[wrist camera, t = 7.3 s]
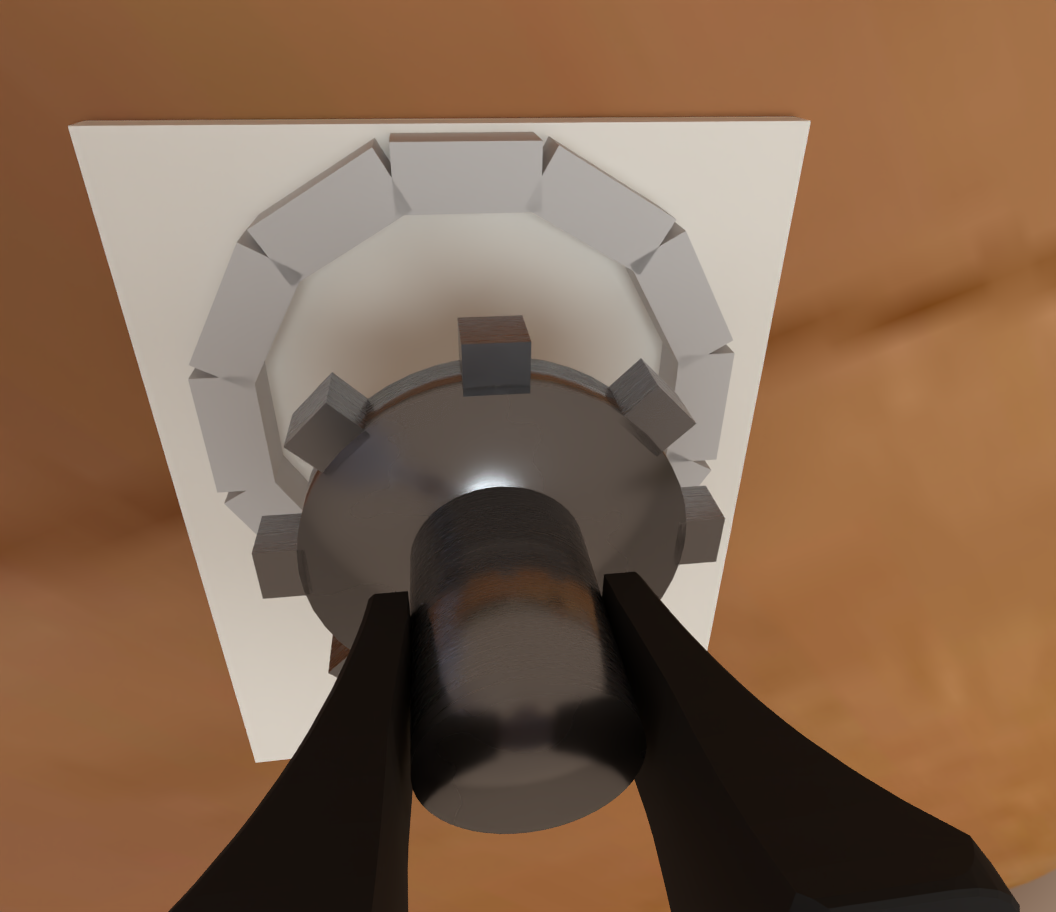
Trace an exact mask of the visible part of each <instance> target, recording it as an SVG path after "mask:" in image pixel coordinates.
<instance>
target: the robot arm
mask: <svg viewBox="0 0 1056 912" xmlns="http://www.w3.org/2000/svg"><path fill="white" fill-rule="evenodd" d="M602 599H603V602H604V605H605V608H606V611H607V615H608V618H609V621H610V624H611V627H612V630H613V634H614V637H615V640H616V643H617V646H618V649H619V652H620V656H621V659H622V662H623V665H624V668H625V671H626V675H627V678H628V681H629V684H630V687H631V690H632V694H633V697H634V700H635V703H636V706H637V709H638V713H639V716H640V719H641V722H642V725H643V728H644V732H645V735H646V742H647V747H646V755H645V759H644V762H643V764H642V767H641V769H640V771H639V773H638V774H637V776H636V777H635V782H636V785H637V788H638V791H639V794H640V797H641V800H642V802H643V805H644V808H645V811H646V814H647V818H648V821H649V824H650V828H651V831H652V834H653V838H654V842H655V846H656V850H657V854H658V858H659V862H660V867H661V871H662V875H663V879H664V883H665V887H666V891H667V896H668V900H669V905H670V909H671V912H1020V906H1019V904H1018V902H1017V901H1016V900H1015V898H1014V897H1013V895H1012V894H1011V892H1010V891H1009V889H1008V888H1007V886H1006V885H1005V883H1004V882H1003V880H1002V878H1001V877H1000V875H999V874H998V872H997V871H996V869H995V868H994V867H993V865H992V864H991V862H990V861H989V860H988V858H987V857H986V856H985V855H984V853H983V852H982V851H981V849H980V848H979V847H978V846H977V844H976V843H975V842H974V840H973V839H972V838H971V837H970V835H968V834H966V833H964V832H962V831H960V830H958V829H956V828H954V827H953V826H951V825H949V824H947V823H945V822H943V821H941V820H939V819H938V818H936V817H934V816H932V815H930V814H928V813H926V812H924V811H922V810H921V809H919V808H917V807H915V806H913V805H911V804H909V803H907V802H906V801H904V800H902V799H900V798H899V797H897V796H895V795H894V794H892V793H890V792H889V791H887V790H885V789H884V788H882V787H880V786H879V785H877V784H875V783H874V782H872V781H870V780H869V779H867V778H865V777H864V776H862V775H861V774H859V773H857V772H856V771H854V770H853V769H851V768H850V767H848V766H847V765H845V764H844V763H842V762H841V761H839V760H838V759H836V758H835V757H834V756H832V755H831V754H829V753H828V752H826V751H825V750H823V749H822V748H820V747H819V746H818V745H816V744H815V743H813V742H812V741H810V740H809V739H807V738H806V737H805V736H803V735H802V734H801V733H799V732H798V731H797V730H795V729H794V728H793V727H791V726H790V725H789V724H788V723H786V722H785V721H784V720H783V719H781V718H780V717H779V716H778V715H776V714H775V713H774V712H773V711H771V710H770V709H769V708H768V707H767V706H765V705H764V704H763V703H762V702H761V701H760V700H758V699H757V698H756V697H755V696H754V695H753V694H752V693H750V692H749V691H748V690H747V689H746V688H745V687H744V686H743V685H742V684H741V683H739V682H738V681H737V680H736V679H735V678H734V677H733V676H732V675H731V674H730V673H729V672H728V671H727V670H726V669H725V668H723V667H722V666H721V665H720V664H719V663H718V662H717V661H716V660H715V659H714V658H713V657H712V656H711V655H710V654H709V653H708V651H707V650H706V649H705V648H704V647H703V646H702V645H701V644H700V643H699V642H698V641H697V640H696V639H695V638H694V637H693V636H692V635H691V634H690V633H689V632H688V630H687V629H686V628H685V627H684V626H683V625H682V624H681V623H680V622H679V621H678V619H677V618H676V617H675V616H674V615H673V614H672V613H671V612H670V610H669V609H668V608H667V607H666V606H665V605H664V603H663V602H662V601H661V600H660V599H659V598H658V596H657V595H656V594H655V593H654V592H653V590H652V589H651V588H650V587H649V586H648V584H647V583H646V582H645V581H644V580H643V578H642V577H641V576H640V575H639V574H638V573H637V572H623V573H612V574H604V578H603V590H602ZM410 663H411V616H410V606H409V596H408V591H403V592H391V593H380V594H374V595H372V596H371V597H370V598H369V599H368V603H367V606H366V610H365V613H364V616H363V619H362V622H361V625H360V627H359V630H358V633H357V635H356V638H355V640H354V642H353V645H352V647H351V649H350V652H349V654H348V656H347V658H346V660H345V663H344V665H343V667H342V669H341V671H340V673H339V675H338V677H337V679H336V681H335V684H334V686H333V688H332V689H331V691H330V693H329V695H328V697H327V699H326V701H325V702H324V704H323V706H322V708H321V710H320V711H319V713H318V715H317V717H316V719H315V720H314V722H313V724H312V726H311V728H310V729H309V731H308V733H307V734H306V736H305V738H304V739H303V741H302V743H301V744H300V746H299V747H298V749H297V751H296V752H295V754H294V755H293V757H292V758H291V760H290V761H289V763H288V764H287V766H286V767H285V769H284V770H283V772H282V773H281V775H280V776H279V778H278V779H277V781H276V782H275V784H274V785H273V786H272V788H271V789H270V790H269V792H268V793H267V795H266V796H265V797H264V799H263V800H262V801H261V803H260V804H259V806H258V807H257V808H256V810H255V811H254V812H253V814H252V815H251V816H250V818H249V819H248V820H247V822H246V823H245V824H244V825H243V827H242V828H241V829H240V830H239V832H238V833H237V834H236V836H235V837H234V838H233V839H232V840H231V841H230V843H229V844H228V845H227V846H226V847H225V849H224V850H223V851H222V852H221V853H220V854H219V856H218V857H217V858H216V859H215V860H214V862H213V863H212V864H211V865H210V866H209V867H208V869H207V870H206V871H205V872H204V873H203V874H202V876H201V877H200V878H199V879H198V880H197V882H196V883H195V884H194V885H193V886H192V887H191V888H190V889H189V890H188V892H187V893H186V894H185V895H184V896H183V897H182V898H181V899H180V900H179V901H178V902H177V903H176V904H175V905H174V906H173V907H172V908H171V909H170V911H169V912H408V843H409V830H410V817H411V804H412V791H413V788H412V784H411V775H410Z"/></svg>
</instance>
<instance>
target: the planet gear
mask: <svg viewBox="0 0 1056 912" xmlns="http://www.w3.org/2000/svg"><path fill="white" fill-rule="evenodd" d="M457 321H458V347H459V360H456V361H452V362H448V363H443V364H439V365H435V366H432V367H429V368H427V369H424V370H421V371H418V372H415V373H413V374H410V375H408V376H406V377H404V378H402V379H400V380H398V381H396V382H394V383H392V384H390V385H388V386H386V387H385V388H383V389H382V390H380V391H379V392H377V393H376V394H374V395H373V396H371V397H370V398H366V397H365V396H364V395H362V394H361V393H360V392H358V391H357V390H356V389H354V388H353V387H352V386H350V385H349V384H348V383H346V382H345V381H344V380H342V379H341V378H339V377H338V376H337V375H335V374H334V373H333V372H332V373H331V374H330V375H329V376H328V377H327V378H326V379H325V380H324V381H323V382H322V383H321V384H320V385H319V386H318V387H317V388H316V390H315V391H314V392H313V393H312V394H311V395H310V396H309V397H308V398H307V399H306V400H305V401H304V402H303V403H302V404H301V405H300V407H299V408H298V409H297V410H296V411H295V412H294V413H293V414H292V418H291V421H290V425H289V429H288V432H287V436H286V439H285V443H284V448H285V449H287V450H288V451H290V452H292V453H293V454H295V455H296V456H298V457H299V458H301V459H302V460H304V461H305V462H307V463H308V464H310V465H311V466H313V470H312V472H311V475H310V478H309V482H308V486H307V491H306V495H305V500H304V505H303V509H302V513H297V514H283V515H268V516H262V518H261V521H260V525H259V529H258V532H257V536H256V539H255V543H254V547H253V550H252V557H253V561H254V565H255V569H256V573H257V577H258V581H259V585H260V589H261V593H262V597H263V599H268V598H280V597H292V596H304V595H306V596H307V598H308V600H309V603H310V605H311V607H312V609H313V611H314V612H315V613H316V615H317V616H318V618H319V619H320V620H321V622H322V623H323V625H324V626H325V627H326V628H327V629H328V630H329V631H330V632H331V633H332V634H333V636H332V645H331V653H330V661H329V670H328V673H329V674H331V675H333V676H335V677H338V675H339V673H340V671H341V669H342V667H343V665H344V663H345V660H346V658H347V656H348V654H349V652H350V649H351V647H352V645H353V642H354V640H355V638H356V635H357V633H358V630H359V627H360V625H361V622H362V619H363V616H364V613H365V610H366V606H367V603H368V599H369V598H370V597H371V596H372V595H374V594H380V593H391V592H403V591H408V596H409V606H410V616H411V663H410V775H411V784H412V788H413V791H414V793H415V795H416V797H417V799H418V800H419V801H420V803H421V804H422V805H423V806H424V807H425V808H426V809H427V810H428V811H429V812H430V813H432V814H433V815H435V816H436V817H438V818H439V819H441V820H443V821H445V822H447V823H449V824H452V825H454V826H457V827H460V828H464V829H468V830H472V831H477V832H484V833H496V834H516V833H527V832H534V831H540V830H545V829H549V828H553V827H557V826H561V825H564V824H567V823H570V822H573V821H575V820H578V819H580V818H583V817H585V816H587V815H589V814H591V813H593V812H595V811H597V810H598V809H600V808H602V807H603V806H605V805H607V804H608V803H609V802H611V801H612V800H613V799H615V798H616V797H617V796H618V795H620V794H621V793H622V792H623V791H624V790H625V789H626V788H627V787H628V786H629V785H630V784H631V782H632V781H633V780H634V779H635V777H636V776H637V774H638V773H639V771H640V769H641V767H642V764H643V762H644V759H645V755H646V747H647V742H646V735H645V732H644V728H643V725H642V722H641V719H640V716H639V713H638V709H637V706H636V703H635V700H634V697H633V694H632V690H631V687H630V684H629V681H628V678H627V675H626V671H625V668H624V665H623V662H622V659H621V656H620V652H619V649H618V646H617V643H616V640H615V637H614V634H613V630H612V627H611V624H610V621H609V618H608V615H607V611H606V608H605V605H604V602H603V599H602V590H603V578H604V574H612V573H623V572H637V573H638V574H639V575H640V576H641V577H642V578H643V580H644V581H645V582H646V583H647V584H648V586H649V587H650V588H651V589H652V590H653V592H654V593H655V594H656V595H657V596H658V598H659V599H660V600H661V598H662V597H663V595H664V594H665V592H666V590H667V588H668V587H669V585H670V583H671V582H672V580H673V578H674V575H675V573H676V570H677V568H678V566H679V565H682V564H694V563H706V562H716V560H717V555H718V551H719V546H720V541H721V536H722V531H723V526H724V522H725V517H724V515H723V514H722V512H721V510H720V509H719V507H718V505H717V504H716V502H715V500H714V499H713V497H712V495H711V494H710V492H709V490H708V489H707V487H706V486H692V487H681V486H680V484H679V481H678V479H677V477H676V474H675V472H674V470H673V468H672V466H671V464H670V462H669V460H668V458H667V457H666V455H665V453H664V450H665V449H666V448H668V447H669V446H670V445H671V444H672V443H674V442H675V441H676V440H677V439H678V438H680V437H681V436H682V435H683V434H684V433H686V432H687V431H688V430H689V429H690V428H692V427H693V426H694V425H695V424H696V422H695V421H694V419H693V418H692V416H691V415H690V413H689V412H688V410H687V408H686V407H685V405H684V404H683V402H682V401H681V399H680V398H679V396H678V395H677V394H676V393H675V392H674V391H673V390H672V389H671V388H670V387H669V386H668V385H667V384H666V383H665V382H664V381H663V380H662V379H661V378H660V377H659V376H658V375H657V374H656V373H655V372H654V371H653V370H652V369H651V368H650V367H649V366H648V365H647V364H646V363H645V362H644V361H643V360H642V359H641V358H640V359H639V360H638V361H637V362H636V363H635V364H634V365H633V366H632V367H630V368H629V369H628V370H627V371H626V372H625V373H624V374H623V375H621V376H620V377H619V378H618V379H617V380H616V381H615V382H614V383H612V384H611V385H610V386H609V387H608V386H607V385H605V384H603V383H602V382H600V381H598V380H597V379H595V378H593V377H592V376H589V375H587V374H584V373H582V372H580V371H577V370H575V369H572V368H570V367H567V366H563V365H560V364H556V363H552V362H549V361H545V360H539V359H531V339H530V336H529V333H528V330H527V328H526V325H525V322H524V319H523V316H522V315H515V316H488V317H461V318H457Z"/></svg>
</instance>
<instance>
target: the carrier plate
mask: <svg viewBox="0 0 1056 912" xmlns="http://www.w3.org/2000/svg"><path fill="white" fill-rule="evenodd" d="M810 122H811V121H809V120H805V119H802V118H798V117H794V116H763V117H595V118H427V119H259V120H91V121H82V122H78V123H75V124H72V125H69V126H68V128H69V132H70V135H71V139H72V142H73V145H74V149H75V152H76V156H77V159H78V162H79V166H80V169H81V172H82V176H83V179H84V183H85V186H86V189H87V193H88V196H89V200H90V203H91V206H92V210H93V213H94V217H95V220H96V223H97V227H98V230H99V233H100V237H101V240H102V244H103V247H104V250H105V254H106V257H107V261H108V264H109V267H110V271H111V274H112V277H113V281H114V284H115V288H116V291H117V294H118V298H119V301H120V305H121V308H122V311H123V315H124V318H125V321H126V325H127V328H128V332H129V335H130V338H131V342H132V345H133V349H134V352H135V355H136V359H137V362H138V365H139V369H140V372H141V376H142V379H143V382H144V386H145V389H146V393H147V396H148V399H149V403H150V406H151V409H152V413H153V416H154V420H155V423H156V426H157V430H158V433H159V437H160V440H161V443H162V447H163V450H164V454H165V457H166V460H167V464H168V467H169V470H170V474H171V477H172V481H173V484H174V487H175V491H176V494H177V498H178V501H179V504H180V508H181V511H182V514H183V518H184V521H185V525H186V528H187V531H188V535H189V538H190V542H191V545H192V548H193V552H194V555H195V558H196V562H197V565H198V569H199V572H200V575H201V579H202V582H203V586H204V589H205V592H206V596H207V599H208V602H209V606H210V609H211V613H212V616H213V619H214V623H215V626H216V630H217V633H218V636H219V640H220V643H221V646H222V650H223V653H224V657H225V660H226V663H227V667H228V670H229V674H230V677H231V680H232V684H233V687H234V691H235V694H236V697H237V701H238V704H239V707H240V711H241V714H242V718H243V721H244V724H245V728H246V731H247V735H248V738H249V741H250V745H251V748H252V751H253V755H254V758H255V762H256V763H257V762H266V761H275V760H284V759H291V758H292V757H293V755H294V754H295V752H296V751H297V749H298V747H299V746H300V744H301V743H302V741H303V739H304V738H305V736H306V734H307V733H308V731H309V729H310V728H311V726H312V724H313V722H314V720H315V719H316V717H317V715H318V713H319V711H320V710H321V708H322V706H323V704H324V702H325V701H326V699H327V697H328V695H329V693H330V691H331V689H332V688H333V686H334V684H335V681H336V679H337V677H335V676H333V675H331V674H329V673H328V670H329V661H330V653H331V645H332V636H333V634H332V633H331V632H330V631H329V630H328V629H327V628H326V627H325V626H324V625H323V623H322V622H321V620H320V619H319V618H318V616H317V615H316V613H315V612H314V611H313V609H312V607H311V605H310V603H309V600H308V598H307V596H306V595H304V596H292V597H280V598H268V599H263V597H262V593H261V589H260V585H259V581H258V577H257V573H256V569H255V565H254V561H253V557H252V550H253V547H254V543H255V539H256V536H257V532H258V529H259V525H260V521H261V518H262V516H268V515H283V514H297V513H302V509H303V505H304V500H305V495H306V491H307V486H308V482H309V478H310V475H311V472H312V470H313V466H311V465H310V464H308V463H307V462H305V461H304V460H302V459H301V458H299V457H298V456H296V455H295V454H293V453H292V452H290V451H288V450H287V449H285V448H284V443H285V439H286V436H287V432H288V429H289V425H290V421H291V418H292V414H293V413H294V412H295V411H296V410H297V409H298V408H299V407H300V405H301V404H302V403H303V402H304V401H305V400H306V399H307V398H308V397H309V396H310V395H311V394H312V393H313V392H314V391H315V390H316V388H317V387H318V386H319V385H320V384H321V383H322V382H323V381H324V380H325V379H326V378H327V377H328V376H329V375H330V374H331V373H332V372H333V373H334V374H335V375H337V376H338V377H339V378H341V379H342V380H344V381H345V382H346V383H348V384H349V385H350V386H352V387H353V388H354V389H356V390H357V391H358V392H360V393H361V394H362V395H364V396H365V397H366V398H370V397H371V396H373V395H374V394H376V393H377V392H379V391H380V390H382V389H383V388H385V387H386V386H388V385H390V384H392V383H394V382H396V381H398V380H400V379H402V378H404V377H406V376H408V375H410V374H413V373H415V372H418V371H421V370H424V369H427V368H429V367H432V366H435V365H439V364H443V363H448V362H452V361H456V360H459V347H458V321H457V318H461V317H488V316H515V315H522V316H523V319H524V322H525V325H526V328H527V330H528V333H529V336H530V339H531V359H539V360H545V361H549V362H552V363H556V364H560V365H563V366H567V367H570V368H572V369H575V370H577V371H580V372H582V373H584V374H587V375H589V376H592V377H593V378H595V379H597V380H598V381H600V382H602V383H603V384H605V385H607V386H608V387H609V386H610V385H611V384H612V383H614V382H615V381H616V380H617V379H618V378H619V377H620V376H621V375H623V374H624V373H625V372H626V371H627V370H628V369H629V368H630V367H632V366H633V365H634V364H635V363H636V362H637V361H638V360H639V359H640V358H641V359H642V360H643V361H644V362H645V363H646V364H647V365H648V366H649V367H650V368H651V369H652V370H653V371H654V372H655V373H656V374H657V375H658V376H659V377H660V378H661V379H662V380H663V381H664V382H665V383H666V384H667V385H668V386H669V387H670V388H671V389H672V390H673V391H674V392H675V393H676V394H677V395H678V396H679V398H680V399H681V401H682V402H683V404H684V405H685V407H686V408H687V410H688V412H689V413H690V415H691V416H692V418H693V419H694V421H695V422H696V424H695V425H694V426H693V427H692V428H690V429H689V430H688V431H687V432H686V433H684V434H683V435H682V436H681V437H680V438H678V439H677V440H676V441H675V442H674V443H672V444H671V445H670V446H669V447H668V448H666V449H665V450H664V453H665V455H666V457H667V458H668V460H669V462H670V464H671V466H672V468H673V470H674V472H675V474H676V477H677V479H678V481H679V484H680V486H681V487H692V486H706V487H707V489H708V490H709V492H710V494H711V495H712V497H713V499H714V500H715V502H716V504H717V505H718V507H719V509H720V510H721V512H722V514H723V515H724V517H725V522H724V526H723V531H722V536H721V541H720V546H719V551H718V555H717V560H716V562H706V563H694V564H682V565H679V566H678V568H677V570H676V573H675V575H674V578H673V580H672V582H671V583H670V585H669V587H668V588H667V590H666V592H665V594H664V595H663V597H662V598H661V601H662V602H663V603H664V605H665V606H666V607H667V608H668V609H669V610H670V612H671V613H672V614H673V615H674V616H675V617H676V618H677V619H678V621H679V622H680V623H681V624H682V625H683V626H684V627H685V628H686V629H687V630H688V632H689V633H690V634H691V635H692V636H693V637H694V638H695V639H696V640H697V641H698V642H699V643H700V644H701V645H702V646H703V647H704V648H705V649H706V650H707V649H708V644H709V639H710V634H711V629H712V624H713V619H714V614H715V609H716V603H717V598H718V593H719V588H720V583H721V578H722V573H723V568H724V562H725V557H726V552H727V547H728V542H729V537H730V532H731V527H732V522H733V516H734V511H735V506H736V501H737V496H738V491H739V486H740V481H741V475H742V470H743V465H744V460H745V455H746V450H747V445H748V440H749V434H750V429H751V424H752V419H753V414H754V409H755V404H756V399H757V394H758V388H759V383H760V378H761V373H762V368H763V363H764V358H765V353H766V347H767V342H768V337H769V332H770V327H771V322H772V317H773V312H774V307H775V301H776V296H777V291H778V286H779V281H780V276H781V271H782V266H783V260H784V255H785V250H786V245H787V240H788V235H789V230H790V225H791V220H792V214H793V209H794V204H795V199H796V194H797V189H798V184H799V179H800V173H801V168H802V163H803V158H804V153H805V148H806V143H807V138H808V133H809V127H810Z"/></svg>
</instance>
